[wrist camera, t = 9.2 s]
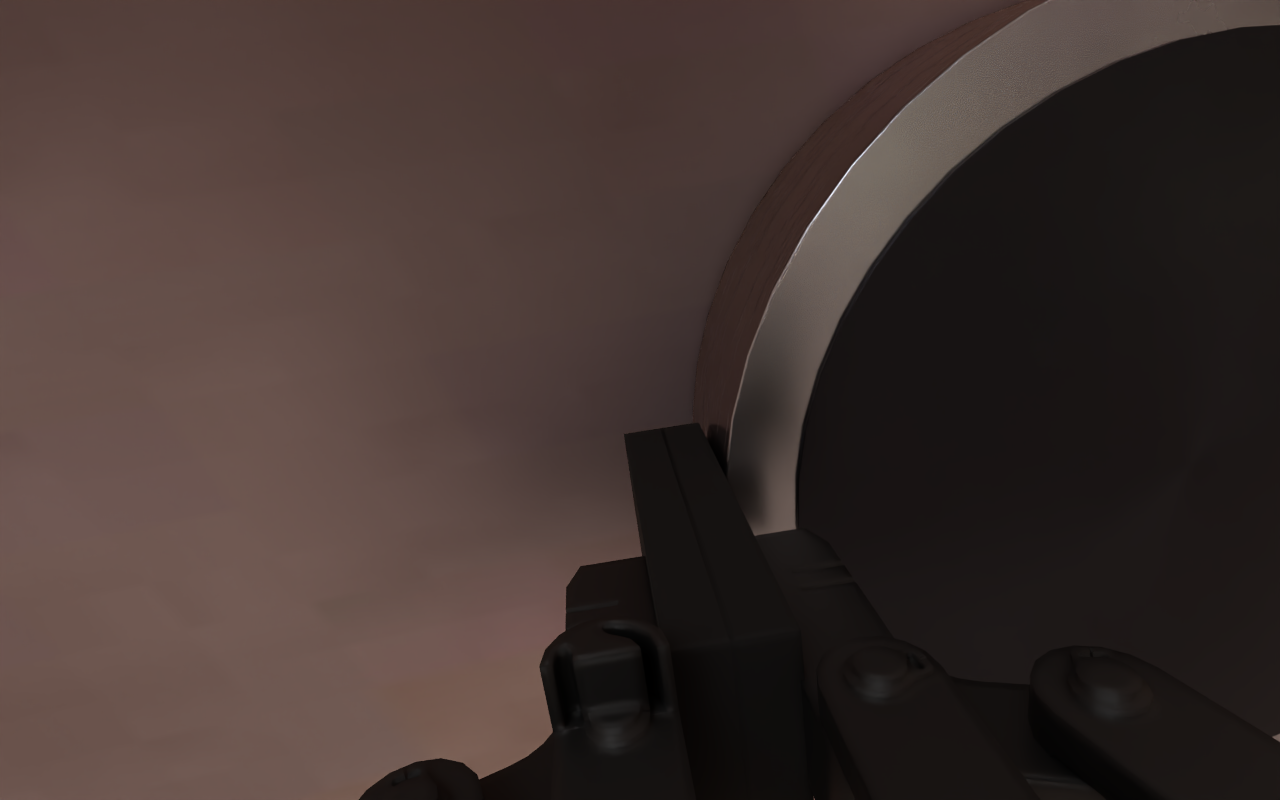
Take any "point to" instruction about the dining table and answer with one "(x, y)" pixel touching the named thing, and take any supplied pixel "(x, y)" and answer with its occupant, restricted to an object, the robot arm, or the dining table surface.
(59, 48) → the dining table surface
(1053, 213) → the pan
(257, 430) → the dining table surface
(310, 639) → the dining table surface
